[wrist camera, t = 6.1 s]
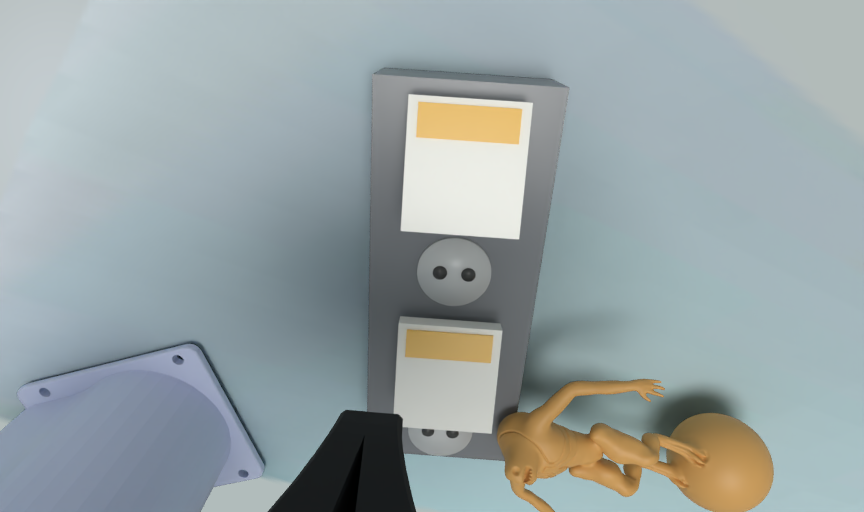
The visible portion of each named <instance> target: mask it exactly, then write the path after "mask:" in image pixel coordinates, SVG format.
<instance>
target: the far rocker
mask: <svg viewBox="0 0 864 512" xmlns="http://www.w3.org/2000/svg"><path fill="white" fill-rule="evenodd" d="M501 340H502V327H501V324H500V323H487V322H473V321H460V320H446V319H432V318H418V317H404V316H400V319H399V325H398V343H397V361H396V379H395V397H394V414H399V415H400V416H401V417H402V418H403V427H408V428H421V429H434V430H448V431H461V432H475V433H488V434H492V425H493V415H494V406H495V397H496V387H497V378H498V368H499V359H500V349H501Z"/></svg>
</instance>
